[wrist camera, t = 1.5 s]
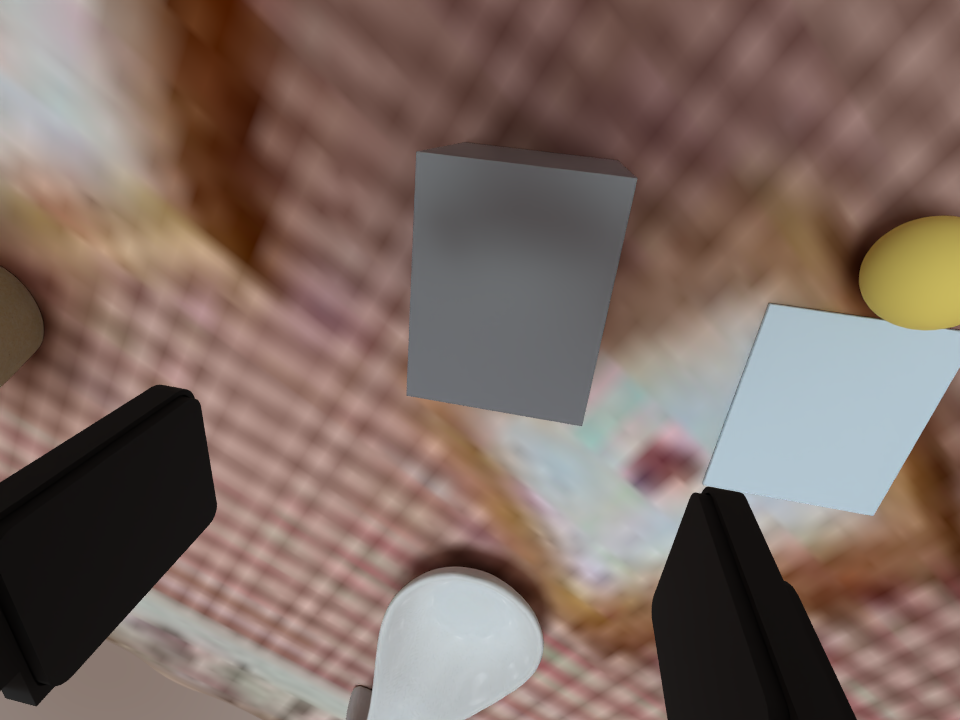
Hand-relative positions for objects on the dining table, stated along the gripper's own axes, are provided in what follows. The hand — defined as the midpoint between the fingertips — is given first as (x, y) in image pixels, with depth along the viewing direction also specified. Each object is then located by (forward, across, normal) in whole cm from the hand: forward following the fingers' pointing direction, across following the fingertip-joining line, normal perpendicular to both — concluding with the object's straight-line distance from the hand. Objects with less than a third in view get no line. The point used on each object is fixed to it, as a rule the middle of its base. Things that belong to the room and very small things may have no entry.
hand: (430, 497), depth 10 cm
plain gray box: (+20, 0, 0) cm, 20 cm away
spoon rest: (+21, +3, +33) cm, 39 cm away
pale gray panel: (+20, -18, +7) cm, 28 cm away
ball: (+18, -18, -2) cm, 25 cm away
